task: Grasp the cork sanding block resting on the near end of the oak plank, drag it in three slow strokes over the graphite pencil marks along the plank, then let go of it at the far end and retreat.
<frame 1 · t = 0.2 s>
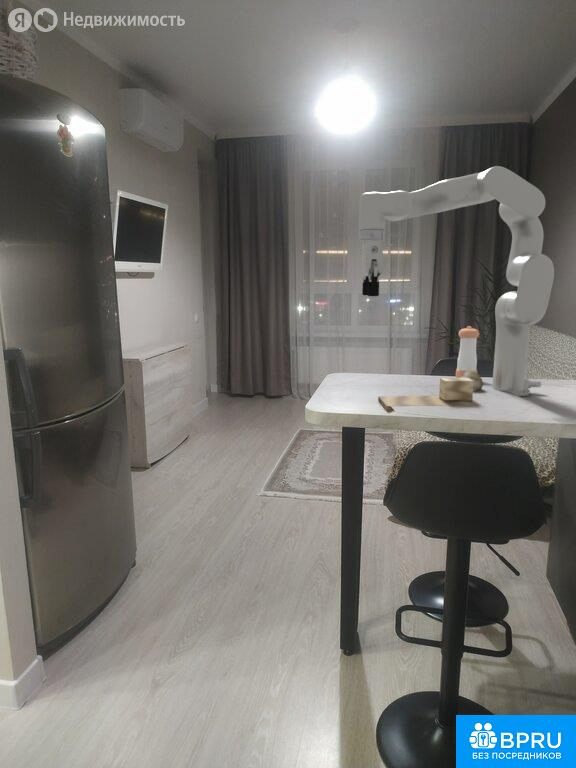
hand: (370, 295, 155), 31 cm above the breakfast bar, fingers open, 9 cm apart
beige stone: (465, 395, 161), on the breakfast bar
pepper shaker: (466, 379, 185), on the breakfast bar
sanding block: (455, 400, 147), point 1 cm above the breakfast bar, touching plank
plank: (427, 405, 147), on the breakfast bar
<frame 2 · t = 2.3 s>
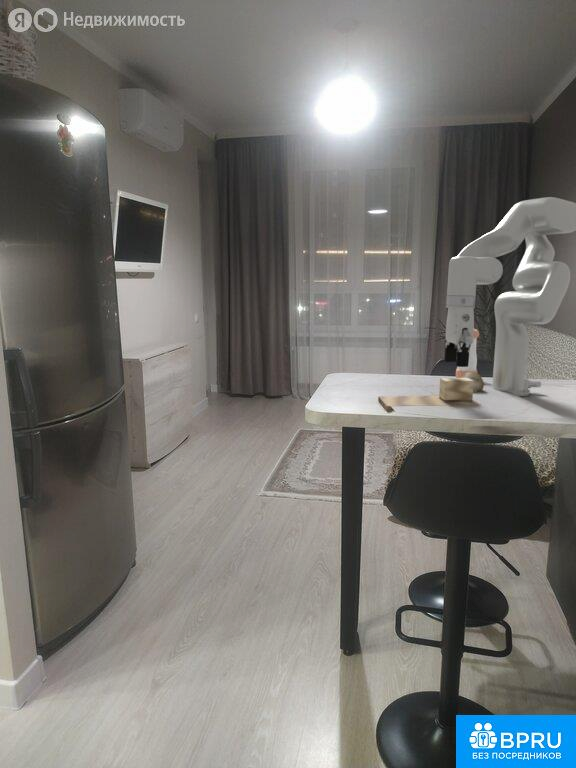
hand: (455, 364, 144), 12 cm above the breakfast bar, fingers open, 9 cm apart
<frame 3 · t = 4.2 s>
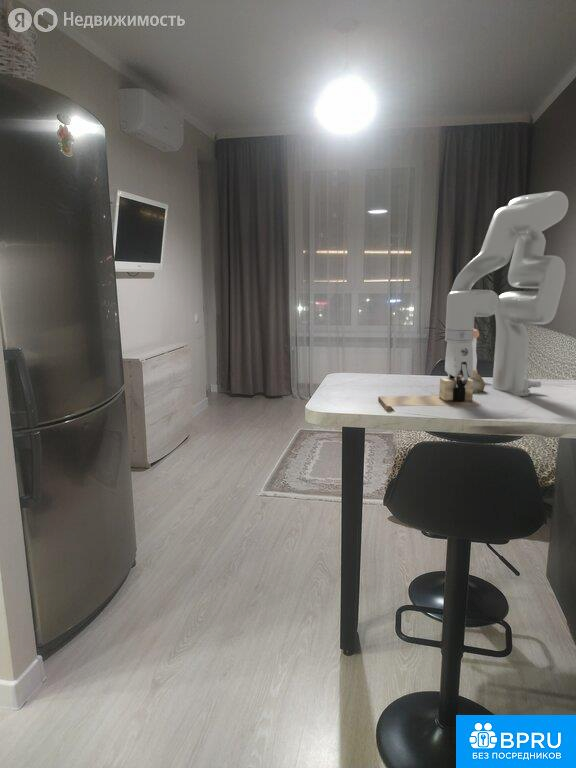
hand: (455, 398, 147), 2 cm above the breakfast bar, fingers closed on sanding block, 4 cm apart
sanding block: (455, 400, 147), point 2 cm above the breakfast bar, touching gripper, plank
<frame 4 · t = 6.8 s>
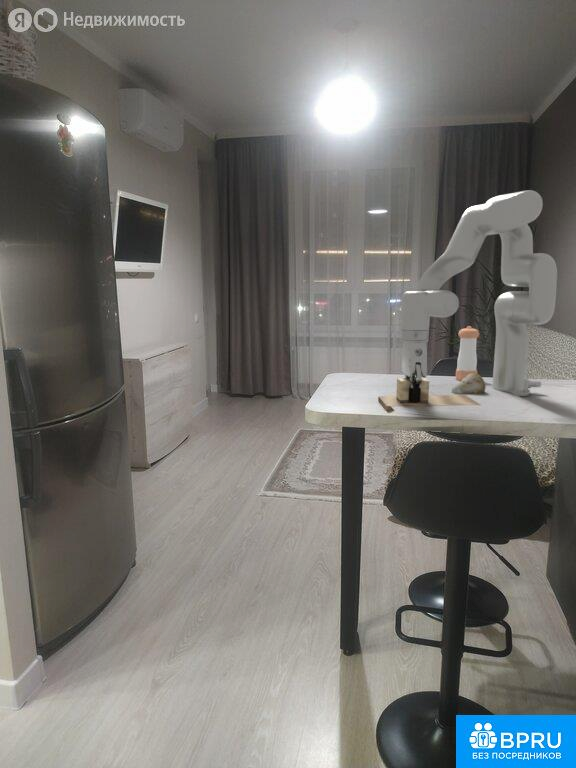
hand: (411, 399, 147), 2 cm above the breakfast bar, fingers closed on sanding block, 4 cm apart
beige stone: (467, 397, 158), on the breakfast bar
sanding block: (412, 400, 147), point 2 cm above the breakfast bar, touching gripper
everything else where it was.
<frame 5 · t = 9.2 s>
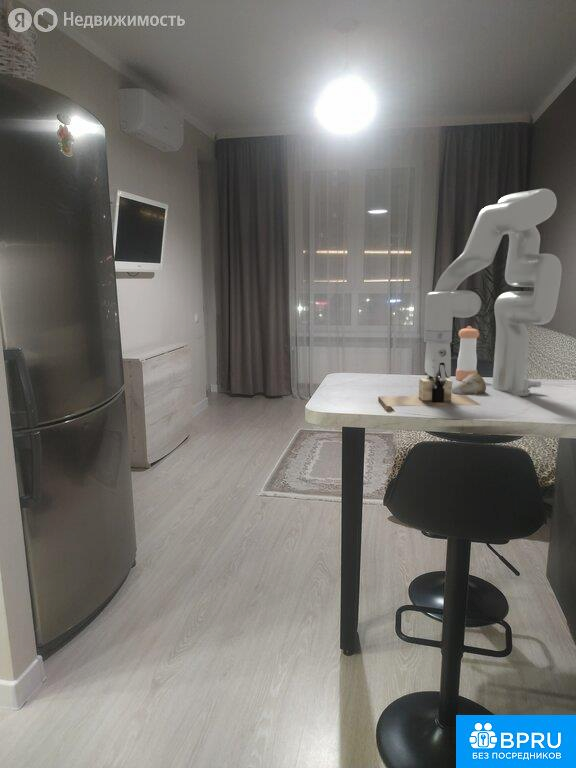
hand: (434, 399, 147), 2 cm above the breakfast bar, fingers closed on sanding block, 4 cm apart
sanding block: (434, 400, 147), point 2 cm above the breakfast bar, touching gripper
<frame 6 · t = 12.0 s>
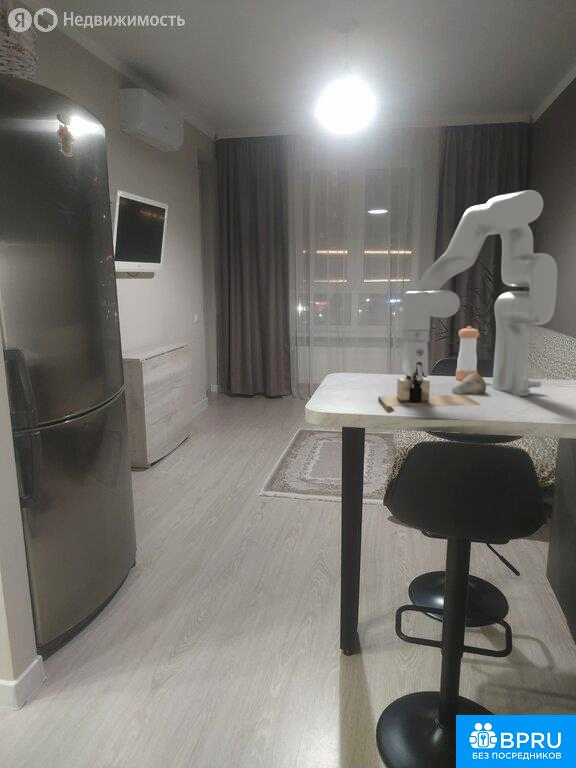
hand: (412, 399, 147), 2 cm above the breakfast bar, fingers closed on sanding block, 4 cm apart
sanding block: (412, 399, 147), point 2 cm above the breakfast bar, touching gripper
everything else where it was.
when the fingers open (2 cm above the breakfast bar, at t = 13.7 s): sanding block stays where it is, resting on plank.
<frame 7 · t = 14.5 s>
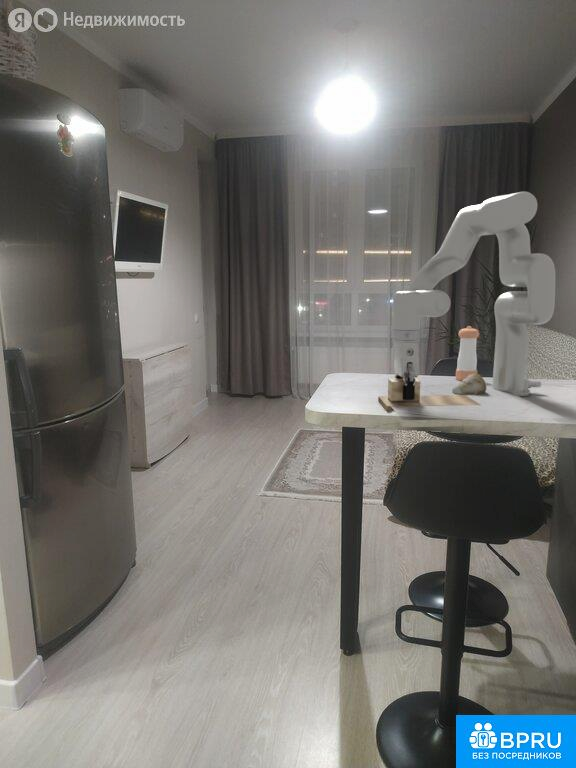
hand: (404, 395, 146), 3 cm above the breakfast bar, fingers open, 9 cm apart
sanding block: (403, 400, 147), point 1 cm above the breakfast bar, touching plank
everything else where it was.
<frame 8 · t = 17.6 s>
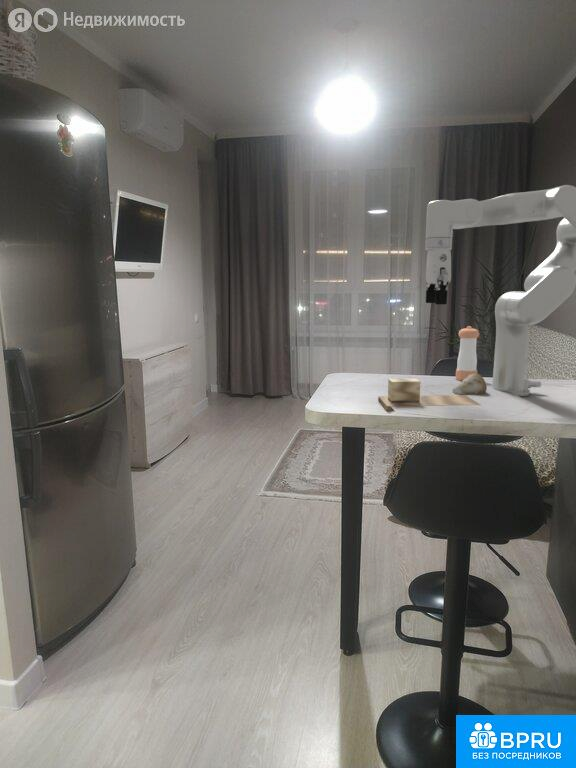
hand: (435, 303, 154), 28 cm above the breakfast bar, fingers open, 9 cm apart
beige stone: (468, 397, 157), on the breakfast bar, touching plank
everything else where it was.
at the end: sanding block inside the target area (0.5 cm from its centre), point 1.5 cm above the breakfast bar; sanding block moved 15.0 cm from its start; sanding block tilted 0° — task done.
